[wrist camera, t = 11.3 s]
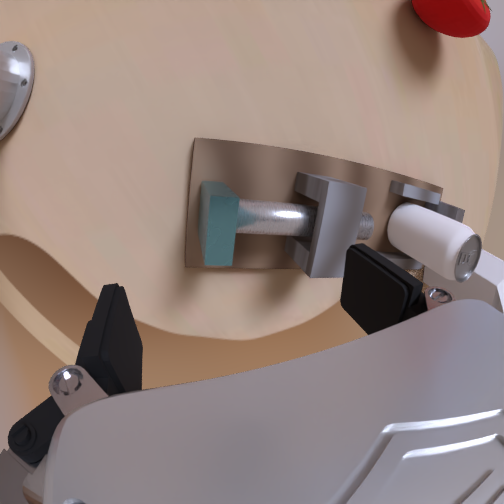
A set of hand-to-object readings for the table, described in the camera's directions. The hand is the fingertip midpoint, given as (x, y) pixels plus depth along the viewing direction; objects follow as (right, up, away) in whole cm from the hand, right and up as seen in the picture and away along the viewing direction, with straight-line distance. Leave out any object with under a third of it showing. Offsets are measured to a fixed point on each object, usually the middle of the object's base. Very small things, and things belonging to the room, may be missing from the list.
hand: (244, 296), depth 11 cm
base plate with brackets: (+11, +6, +21) cm, 24 cm away
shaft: (+3, +6, +17) cm, 19 cm away
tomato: (+26, +38, +12) cm, 48 cm away
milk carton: (+32, +1, +29) cm, 43 cm away
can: (+21, +6, +23) cm, 31 cm away
